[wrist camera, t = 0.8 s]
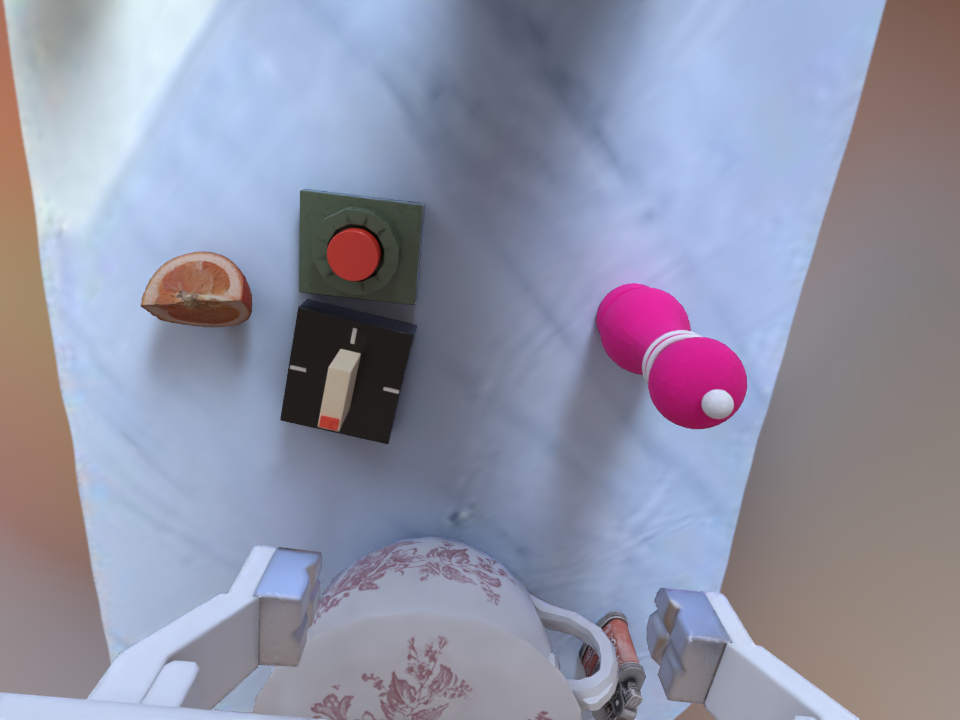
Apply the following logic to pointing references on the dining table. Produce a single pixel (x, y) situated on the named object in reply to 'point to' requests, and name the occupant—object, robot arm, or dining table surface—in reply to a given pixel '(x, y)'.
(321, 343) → the control panel
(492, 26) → the dining table surface
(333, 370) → the knob
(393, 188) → the dining table surface
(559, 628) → the chamber pot
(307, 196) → the button box
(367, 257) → the button
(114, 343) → the dining table surface
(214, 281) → the fruit slice
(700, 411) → the pepper mill
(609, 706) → the lighter
